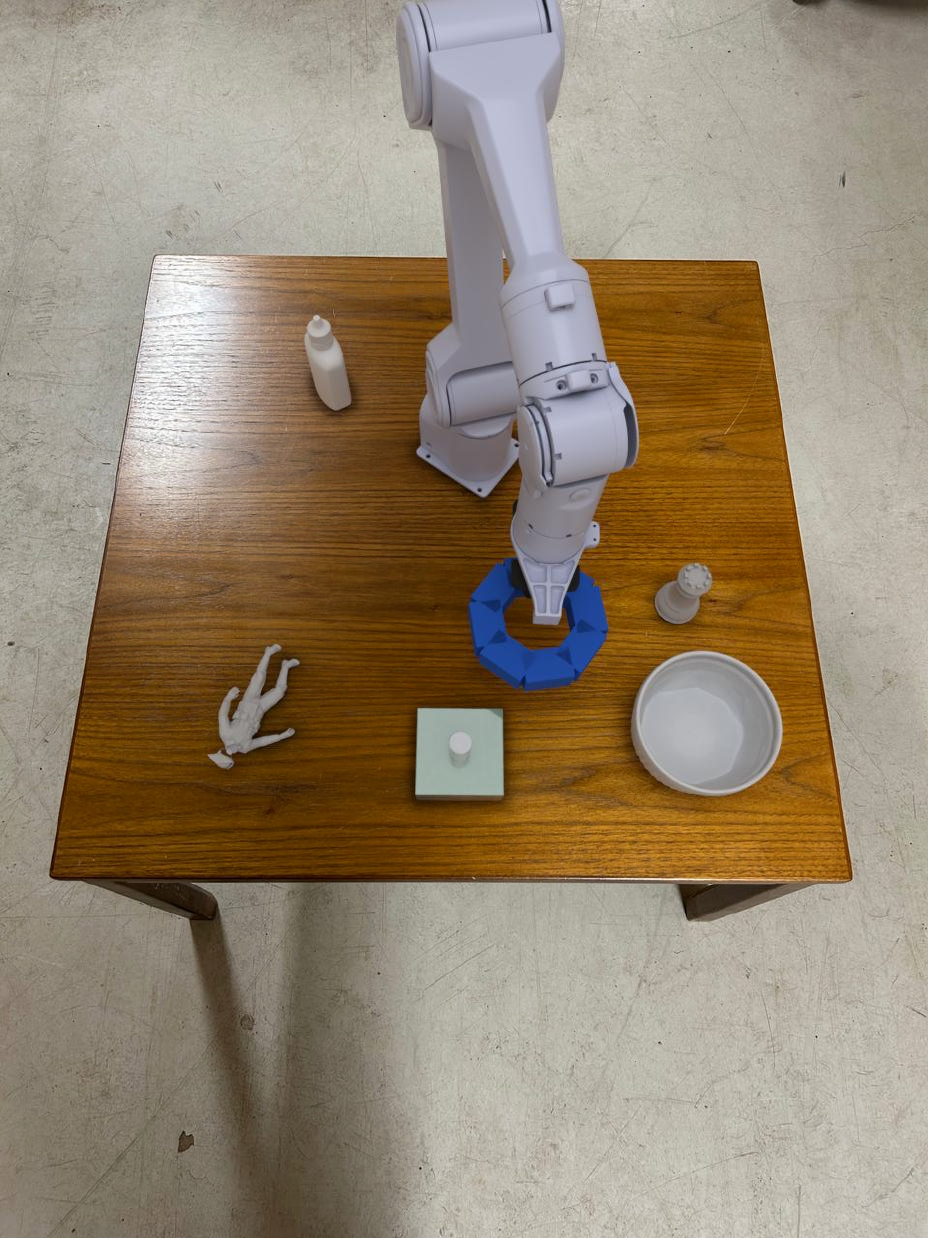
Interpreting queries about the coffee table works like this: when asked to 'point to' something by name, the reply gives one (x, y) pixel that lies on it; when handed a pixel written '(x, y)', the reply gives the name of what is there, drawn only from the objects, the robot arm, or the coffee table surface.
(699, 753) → the ramekin
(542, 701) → the coffee table surface
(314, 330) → the eye dropper bottle
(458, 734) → the pale green peg block
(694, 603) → the rook chess piece
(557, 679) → the blue ring
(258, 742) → the soldier figure
